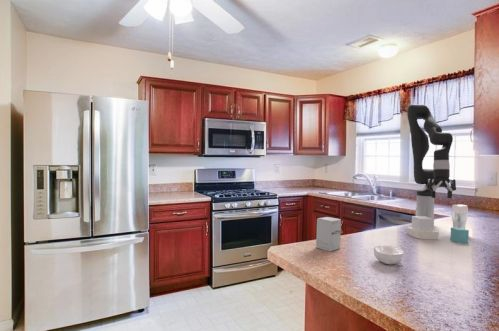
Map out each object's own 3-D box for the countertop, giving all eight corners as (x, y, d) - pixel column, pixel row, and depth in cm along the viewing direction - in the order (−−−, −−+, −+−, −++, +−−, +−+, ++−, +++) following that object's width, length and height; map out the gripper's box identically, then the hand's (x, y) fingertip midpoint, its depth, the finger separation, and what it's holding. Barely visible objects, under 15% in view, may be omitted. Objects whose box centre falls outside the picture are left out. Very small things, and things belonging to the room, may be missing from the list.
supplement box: (330, 252, 120) (331, 221, 120) (315, 247, 126) (316, 218, 125) (340, 248, 125) (341, 219, 124) (326, 244, 130) (326, 216, 130)
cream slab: (406, 234, 154) (407, 226, 154) (426, 235, 154) (426, 227, 154) (417, 239, 144) (417, 231, 144) (438, 240, 144) (438, 232, 144)
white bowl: (404, 260, 111) (404, 242, 111) (402, 270, 101) (403, 251, 101) (375, 255, 116) (375, 238, 116) (370, 264, 106) (371, 246, 106)
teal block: (450, 239, 143) (450, 227, 143) (460, 240, 143) (461, 227, 143) (457, 242, 138) (457, 230, 138) (468, 243, 138) (468, 230, 138)
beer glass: (448, 232, 157) (448, 204, 157) (456, 231, 160) (456, 204, 160) (462, 236, 151) (463, 206, 150) (470, 234, 154) (471, 206, 153)
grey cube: (411, 227, 152) (412, 216, 152) (425, 227, 152) (425, 216, 152) (419, 230, 145) (419, 218, 145) (433, 231, 145) (434, 219, 145)
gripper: (449, 169, 166) (450, 198, 166) (424, 168, 167) (424, 197, 166) (459, 168, 159) (459, 199, 158) (432, 168, 159) (432, 198, 158)
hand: (441, 198), depth 162 cm, fingers open, 8 cm apart
